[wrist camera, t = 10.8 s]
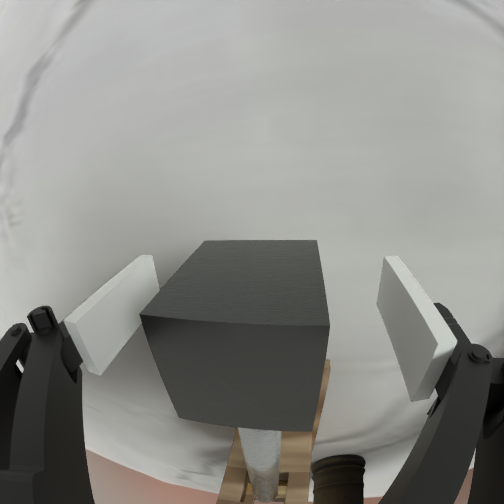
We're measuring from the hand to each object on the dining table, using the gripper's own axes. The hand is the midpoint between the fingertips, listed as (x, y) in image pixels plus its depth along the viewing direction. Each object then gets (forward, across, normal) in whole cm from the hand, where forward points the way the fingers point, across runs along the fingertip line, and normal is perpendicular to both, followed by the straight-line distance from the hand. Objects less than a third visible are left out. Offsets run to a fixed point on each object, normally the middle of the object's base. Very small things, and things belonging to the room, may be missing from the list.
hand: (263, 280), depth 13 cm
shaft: (-1, 0, -10) cm, 10 cm away
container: (+8, +10, -40) cm, 42 cm away
